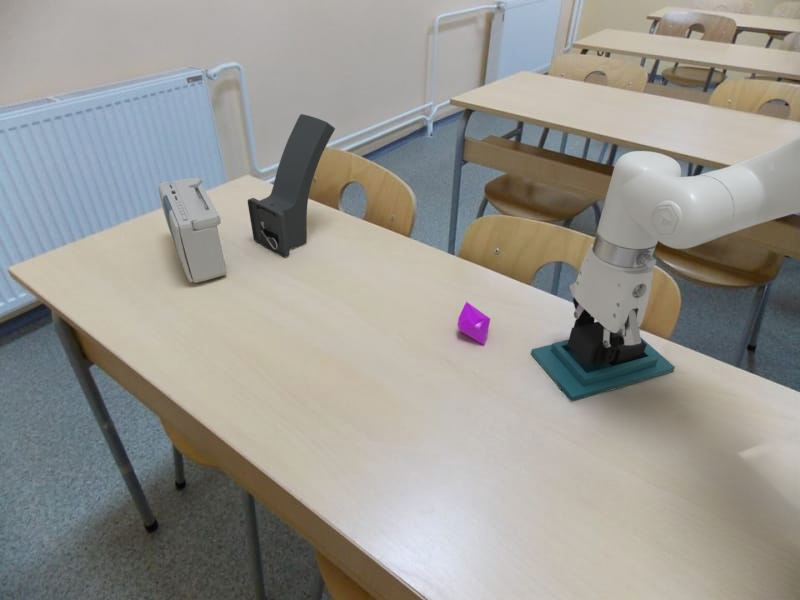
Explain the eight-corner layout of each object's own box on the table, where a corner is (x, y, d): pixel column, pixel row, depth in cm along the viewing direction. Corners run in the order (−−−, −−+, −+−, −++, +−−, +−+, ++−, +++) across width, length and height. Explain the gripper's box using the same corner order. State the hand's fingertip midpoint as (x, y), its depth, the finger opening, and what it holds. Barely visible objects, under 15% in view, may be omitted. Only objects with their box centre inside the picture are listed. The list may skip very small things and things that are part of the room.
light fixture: (345, 229, 116) (340, 120, 102) (284, 259, 106) (269, 141, 92) (313, 215, 122) (304, 109, 108) (252, 241, 111) (233, 128, 97)
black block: (640, 361, 81) (647, 344, 79) (614, 368, 80) (620, 351, 78) (619, 341, 85) (625, 324, 83) (593, 348, 84) (599, 331, 81)
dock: (673, 371, 81) (678, 360, 79) (570, 401, 75) (574, 389, 74) (625, 329, 89) (629, 318, 88) (530, 353, 84) (533, 341, 82)
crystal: (453, 338, 86) (456, 316, 84) (464, 320, 90) (466, 299, 88) (483, 347, 85) (486, 325, 82) (493, 328, 89) (496, 307, 86)
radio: (170, 239, 111) (146, 148, 100) (210, 231, 115) (190, 142, 103) (189, 289, 97) (162, 188, 85) (233, 278, 100) (213, 180, 88)
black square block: (614, 358, 78) (620, 340, 76) (586, 365, 77) (592, 348, 75) (593, 338, 82) (598, 321, 80) (567, 344, 81) (571, 327, 79)
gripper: (694, 275, 63) (649, 382, 74) (605, 215, 76) (577, 313, 87) (645, 286, 61) (606, 394, 72) (562, 223, 74) (539, 322, 85)
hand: (591, 349), depth 79 cm, fingers closed on black square block, 4 cm apart
